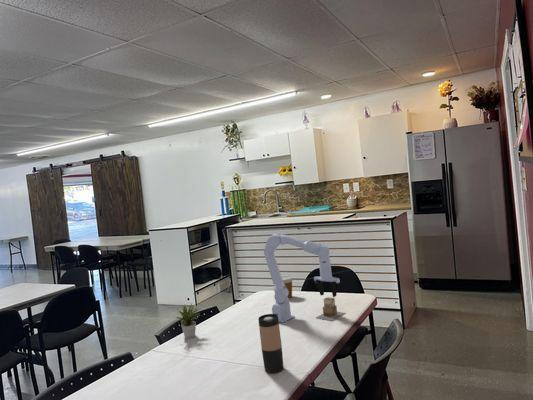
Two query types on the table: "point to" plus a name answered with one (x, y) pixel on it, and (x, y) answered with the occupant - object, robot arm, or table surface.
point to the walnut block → (330, 311)
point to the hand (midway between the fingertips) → (328, 295)
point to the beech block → (329, 302)
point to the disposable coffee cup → (288, 284)
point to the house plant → (188, 321)
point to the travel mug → (271, 343)
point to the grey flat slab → (330, 317)
